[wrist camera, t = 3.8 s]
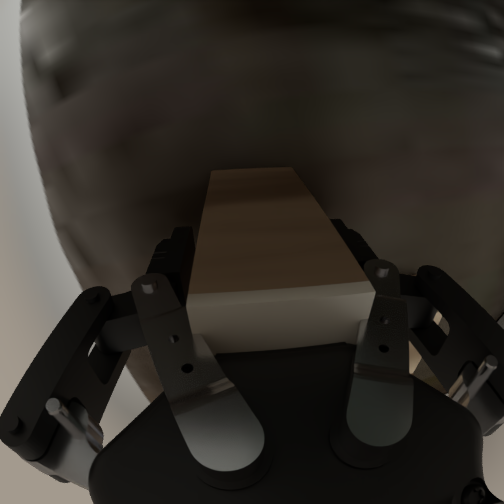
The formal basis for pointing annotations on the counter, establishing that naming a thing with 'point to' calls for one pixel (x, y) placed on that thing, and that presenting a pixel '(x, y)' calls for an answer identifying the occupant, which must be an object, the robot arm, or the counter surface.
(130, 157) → the counter surface
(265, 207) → the walnut block
